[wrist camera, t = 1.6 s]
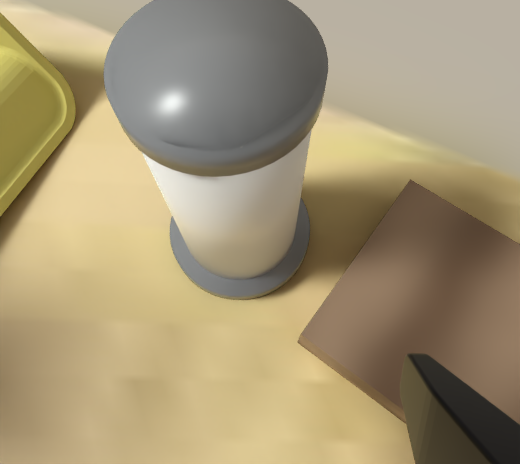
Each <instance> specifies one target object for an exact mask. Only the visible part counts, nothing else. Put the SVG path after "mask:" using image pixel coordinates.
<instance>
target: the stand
mask: <svg viewBox="0 0 520 464" xmlns="http://www.w3.org/2000/svg"><path fill="white" fill-rule="evenodd" d="M298 343H299V344H300V345H302V346H303V347H304V348H306V349H307V350H308V351H310V352H311V353H312V354H314V355H315V356H316V357H318V358H319V359H320V360H322V361H323V362H324V363H326V364H327V365H328V366H330V367H331V368H332V369H334V370H335V371H336V372H338V373H339V374H340V375H342V376H343V377H344V378H346V379H347V380H348V381H350V382H351V383H352V384H354V385H355V386H356V387H358V388H359V389H360V390H362V391H363V392H364V393H366V394H367V395H368V396H370V397H371V398H372V399H374V400H375V401H376V402H378V403H379V404H380V405H382V406H383V407H384V408H386V409H387V410H388V411H390V412H391V413H392V414H394V415H395V416H396V417H398V418H399V419H400V420H402V421H403V422H404V423H406V419H405V414H404V410H403V405H402V401H401V396H400V382H401V376H402V370H403V364H404V359H405V356H406V355H407V354H408V353H424V354H428V355H429V356H431V357H432V358H433V359H435V360H436V361H437V362H439V363H440V364H441V365H443V366H444V367H445V368H446V369H448V370H449V371H450V372H452V373H453V374H454V375H456V376H457V377H458V378H460V379H461V380H462V381H464V382H465V383H466V384H467V385H469V386H470V387H471V388H473V389H474V390H475V391H477V392H478V393H479V394H481V395H482V396H483V397H485V398H486V399H487V400H488V401H490V402H491V403H492V404H494V405H495V406H496V407H498V408H499V409H500V410H502V411H503V412H504V413H506V414H507V415H508V416H509V417H511V418H512V419H513V420H515V421H516V422H517V423H519V424H520V244H518V243H517V242H515V241H513V240H511V239H510V238H508V237H506V236H505V235H503V234H501V233H500V232H498V231H496V230H495V229H493V228H491V227H490V226H488V225H486V224H484V223H483V222H481V221H479V220H478V219H476V218H474V217H473V216H471V215H469V214H468V213H466V212H464V211H463V210H461V209H459V208H457V207H456V206H454V205H452V204H451V203H449V202H447V201H446V200H444V199H442V198H441V197H439V196H437V195H436V194H434V193H432V192H431V191H429V190H427V189H425V188H424V187H422V186H420V185H419V184H417V183H415V182H414V181H412V180H410V181H409V182H408V184H407V185H406V186H405V188H404V189H403V191H402V192H401V194H400V195H399V196H398V198H397V199H396V201H395V202H394V203H393V205H392V206H391V208H390V209H389V210H388V212H387V213H386V215H385V216H384V218H383V219H382V220H381V222H380V223H379V225H378V226H377V227H376V229H375V230H374V232H373V233H372V234H371V236H370V237H369V239H368V240H367V242H366V243H365V244H364V246H363V247H362V249H361V250H360V251H359V253H358V254H357V256H356V257H355V259H354V260H353V261H352V263H351V264H350V266H349V267H348V268H347V270H346V271H345V273H344V274H343V275H342V277H341V278H340V280H339V281H338V283H337V284H336V285H335V287H334V288H333V290H332V291H331V292H330V294H329V295H328V297H327V298H326V299H325V301H324V302H323V304H322V305H321V307H320V308H319V309H318V311H317V312H316V314H315V315H314V316H313V318H312V319H311V321H310V322H309V324H308V325H307V326H306V328H305V329H304V331H303V332H302V333H301V335H300V337H299V340H298ZM406 424H407V423H406Z"/></svg>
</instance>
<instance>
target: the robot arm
mask: <svg viewBox="0 0 520 464" xmlns="http://www.w3.org/2000/svg"><path fill="white" fill-rule="evenodd" d="M400 396H401V401H402V405H403V410H404V414H405V419H406V423H407V428H408V433H409V437H410V442H411V446H412V451H413V455H414V459H415V464H520V424H519V423H517V422H516V421H515V420H513V419H512V418H511V417H509V416H508V415H507V414H506V413H504V412H503V411H502V410H500V409H499V408H498V407H496V406H495V405H494V404H492V403H491V402H490V401H488V400H487V399H486V398H485V397H483V396H482V395H481V394H479V393H478V392H477V391H475V390H474V389H473V388H471V387H470V386H469V385H467V384H466V383H465V382H464V381H462V380H461V379H460V378H458V377H457V376H456V375H454V374H453V373H452V372H450V371H449V370H448V369H446V368H445V367H444V366H443V365H441V364H440V363H439V362H437V361H436V360H435V359H433V358H432V357H431V356H429V355H428V354H424V353H408V354H407V355H406V356H405V359H404V364H403V370H402V376H401V382H400Z"/></svg>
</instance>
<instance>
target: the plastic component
mask: <svg viewBox="0 0 520 464" xmlns="http://www.w3.org/2000/svg"><path fill="white" fill-rule="evenodd" d="M75 111H76V106H75V101H74V96H73V93H72V91H71V89H70V86H69V84H68V83H67V81H66V80H65V78H64V77H63V75H62V74H61V73H60V72H59V71H58V70H57V69H56V68H55V67H54V66H53V65H52V64H51V63H50V62H49V61H48V60H47V59H46V58H45V57H44V56H43V55H42V54H41V53H40V52H39V51H38V50H37V49H36V48H35V47H34V46H33V45H32V44H31V43H30V42H29V41H28V40H27V39H26V38H25V37H24V36H23V35H22V34H21V33H20V32H19V31H18V30H17V29H16V28H15V27H14V26H13V25H12V24H11V23H10V22H9V21H8V20H7V19H6V18H5V17H4V16H3V15H2V14H1V13H0V216H1V215H2V214H3V213H4V212H5V210H6V209H7V208H8V207H9V205H10V204H11V203H12V202H13V200H14V199H15V198H16V197H17V195H18V194H19V193H20V192H21V191H22V189H23V188H24V187H25V186H26V184H27V183H28V182H29V181H30V179H31V178H32V177H33V176H34V174H35V173H36V172H37V171H38V170H39V168H40V167H41V166H42V165H43V163H44V162H45V161H46V160H47V158H48V157H49V156H50V155H51V153H52V152H53V151H54V150H55V149H56V147H57V146H58V145H59V144H60V142H61V141H62V140H63V139H64V137H65V136H66V135H67V134H68V132H69V131H70V130H71V129H72V126H73V123H74V120H75Z"/></svg>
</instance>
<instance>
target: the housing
mask: <svg viewBox="0 0 520 464" xmlns="http://www.w3.org/2000/svg"><path fill="white" fill-rule="evenodd" d="M327 73H328V58H327V52H326V47H325V44H324V42H323V39H322V37H321V35H320V33H319V31H318V29H317V28H316V26H315V25H314V24H313V22H312V21H311V20H310V18H309V17H308V16H307V15H306V14H305V13H304V12H303V11H302V10H300V9H299V8H298V7H297V6H295V5H294V4H292V3H291V2H289V1H288V0H153V1H152V2H150V3H148V4H147V5H145V6H144V7H142V8H141V9H140V10H138V11H137V12H136V13H134V14H133V15H132V16H131V17H130V18H129V19H128V20H127V21H126V22H125V23H124V25H123V26H122V27H121V28H120V30H119V31H118V32H117V34H116V36H115V37H114V39H113V41H112V43H111V45H110V47H109V50H108V52H107V56H106V60H105V65H104V84H105V89H106V93H107V97H108V99H109V102H110V104H111V106H112V108H113V110H114V112H115V114H116V116H117V118H118V120H119V122H120V124H121V126H122V128H123V130H124V132H125V133H126V135H127V136H128V137H129V139H130V140H131V142H132V143H133V144H134V145H135V146H136V147H137V148H138V149H139V150H140V151H141V152H142V153H143V156H144V158H145V160H146V162H147V164H148V166H149V168H150V170H151V172H152V174H153V176H154V178H155V180H156V183H157V185H158V187H159V189H160V191H161V193H162V195H163V197H164V199H165V201H166V203H167V205H168V207H169V210H170V212H171V214H172V218H171V224H170V241H171V246H172V250H173V253H174V255H175V257H176V260H177V261H178V263H179V265H180V266H181V268H182V270H183V271H184V273H185V274H186V275H187V276H188V278H189V279H190V280H191V281H192V282H193V283H194V284H196V285H197V286H198V287H200V288H201V289H203V290H204V291H206V292H208V293H210V294H212V295H215V296H218V297H221V298H226V299H233V300H246V299H253V298H258V297H261V296H264V295H267V294H269V293H271V292H273V291H275V290H277V289H278V288H280V287H281V286H283V285H284V284H285V283H286V282H287V281H289V280H290V279H291V277H292V276H293V275H294V274H295V273H296V272H297V270H298V268H299V267H300V265H301V263H302V261H303V259H304V257H305V254H306V250H307V247H308V242H309V236H310V222H309V216H308V212H307V209H306V207H305V204H304V202H303V200H302V199H301V192H302V185H303V179H304V173H305V167H306V160H307V154H308V148H309V141H310V135H311V129H312V128H313V126H314V124H315V122H316V120H317V118H318V116H319V113H320V110H321V107H322V102H323V96H324V91H325V85H326V80H327Z"/></svg>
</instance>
